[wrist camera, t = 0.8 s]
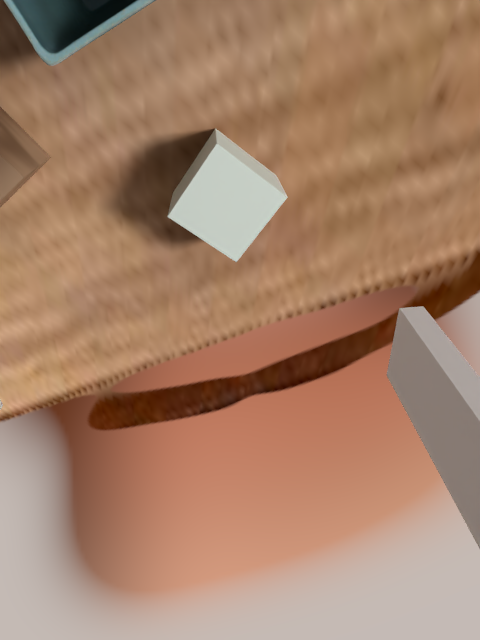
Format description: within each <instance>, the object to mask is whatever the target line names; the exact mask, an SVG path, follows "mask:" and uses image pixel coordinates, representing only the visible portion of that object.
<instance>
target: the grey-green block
mask: <svg viewBox="0 0 480 640" xmlns="http://www.w3.org/2000/svg"><path fill="white" fill-rule="evenodd" d="M286 199H287V195H286V193H285V191H284V189H283V187H282V185H281V183H280V182H279V180H278V178H277V176H276V175H275V174H274V173H272V172H271V171H270V170H269V169H267V168H266V167H265V166H263V165H262V164H261V163H259V162H258V161H257V160H256V159H254V158H253V157H252V156H250V155H249V154H248V153H247V152H245V151H244V150H243V149H241V148H240V147H239V146H238V145H236V144H235V143H234V142H232V141H231V140H230V139H228V138H227V137H226V136H225V135H223V134H222V133H221V132H219V131H218V130H217V129H216V128H215V130H214V131H213V133H212V134H211V136H210V137H209V139H208V140H207V142H206V143H205V145H204V146H203V148H202V149H201V151H200V152H199V154H198V156H197V157H196V159H195V160H194V162H193V163H192V165H191V166H190V168H189V169H188V171H187V172H186V174H185V175H184V177H183V178H182V180H181V181H180V183H179V184H178V186H177V187H176V189H175V190H174V192H173V194H172V199H171V203H170V208H169V212H168V217H169V218H170V219H172V220H173V221H175V222H176V223H178V224H179V225H181V226H182V227H184V228H185V229H187V230H188V231H190V232H191V233H193V234H194V235H196V236H197V237H199V238H201V239H202V240H204V241H205V242H207V243H208V244H210V245H211V246H213V247H214V248H216V249H217V250H219V251H220V252H222V253H223V254H225V255H226V256H228V257H229V258H231V259H233V260H234V261H236V262H237V261H238V259H239V258H240V257H241V256H242V254H243V253H244V252H245V250H246V249H247V248H248V247H249V245H250V244H251V243H252V242H253V240H254V239H255V238H256V237H257V235H258V234H259V233H260V231H261V230H262V229H263V228H264V226H265V225H266V224H267V223H268V221H269V220H270V219H271V218H272V216H273V215H274V214H275V212H276V211H277V210H278V209H279V207H280V206H281V205H282V204H283V202H284V201H285V200H286Z"/></svg>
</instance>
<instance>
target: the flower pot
mask: <svg viewBox="0 0 480 640" xmlns="http://www.w3.org/2000/svg"><path fill="white" fill-rule="evenodd" d="M154 1H155V0H4V2H5V3H6V5H7V7H8V8H9V9H10V11H11V12H12V14H13V16H14V17H15V19H16V20H17V22H18V23H19V25H20V27H21V28H22V30H23V31H24V33H25V35H26V36H27V38H28V39H29V41H30V42H31V44H32V46H33V48H34V49H35V51H36V52H37V54H38V55H39V56H40V58H41V59H42V60H43V61H44V62H45V63H46V64H47V65H56V64H58V63H60V62H62V61H63V60H65V59H66V58H68V57H69V56H71V55H72V54H74V53H75V52H77V51H78V50H80V49H81V48H83V47H84V46H86V45H88V44H89V43H91V42H92V41H94V40H95V39H97V38H98V37H100V36H102V35H103V34H105V33H106V32H108V31H109V30H111V29H112V28H114V27H116V26H117V25H119V24H120V23H122V22H123V21H125V20H126V19H128V18H129V17H131V16H132V15H134V14H136V13H137V12H139V11H140V10H141V9H143V8H144V7H146V6H148V5H149V4H151V3H152V2H154Z"/></svg>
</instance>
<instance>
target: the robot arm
mask: <svg viewBox="0 0 480 640" xmlns="http://www.w3.org/2000/svg"><path fill="white" fill-rule="evenodd" d="M387 377H388V379H389V381H390V382H391V384H392V386H393V388H394V390H395V392H396V393H397V395H398V397H399V399H400V401H401V403H402V405H403V407H404V408H405V410H406V412H407V414H408V416H409V418H410V419H411V422H412V423H413V425H414V427H415V429H416V431H417V433H418V435H419V436H420V438H421V440H422V442H423V444H424V446H425V448H426V449H427V451H428V453H429V455H430V457H431V459H432V461H433V463H434V464H435V466H436V468H437V470H438V472H439V474H440V476H441V477H442V479H443V481H444V483H445V485H446V487H447V489H448V490H449V492H450V494H451V496H452V498H453V500H454V502H455V503H456V505H457V507H458V509H459V511H460V513H461V515H462V516H463V518H464V520H465V522H466V524H467V526H468V528H469V530H470V531H471V533H472V535H473V537H474V539H475V541H476V543H477V544H478V546H479V548H480V377H479V376H478V374H477V373H476V372H475V371H474V370H473V368H472V367H471V366H470V364H469V363H468V362H467V361H466V360H465V358H464V357H463V356H462V354H461V353H460V352H459V351H458V349H457V348H456V347H455V346H454V344H453V343H452V342H451V341H450V339H449V338H448V337H447V336H446V334H445V333H444V332H443V331H442V329H441V328H440V327H439V326H438V324H437V323H436V322H435V321H434V319H433V318H432V317H431V316H430V314H429V313H428V312H427V311H426V309H425V308H424V307H410V308H399V313H398V319H397V324H396V329H395V334H394V340H393V345H392V350H391V355H390V360H389V366H388V371H387ZM2 406H3V404H2V402H1V400H0V409H1V407H2Z"/></svg>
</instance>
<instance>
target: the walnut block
mask: <svg viewBox="0 0 480 640" xmlns="http://www.w3.org/2000/svg"><path fill="white" fill-rule="evenodd" d="M50 158H51V157H50V156H49V155H48V154H47V153H46V152H45V151H44V150H43V149H42V148H41V147H40V146H39V145H38V144H37V143H36V142H35V141H34V140H33V139H32V138H31V137H30V136H29V135H28V134H27V133H26V132H25V131H24V130H23V129H22V128H21V127H20V126H19V125H18V124H17V123H16V122H15V121H14V120H13V119H12V118H11V117H10V116H9V115H8V114H7V113H6V112H5V111H4V110H3V109H2V108H1V107H0V207H1V206H2V205H3V204H4V203H5V202H6V201H7V200H8V199H9V198H10V197H11V196H12V195H13V194H14V193H15V192H16V191H17V190H18V189H19V188H20V187H21V186H22V185H23V184H24V183H25V182H26V181H27V180H28V179H29V178H30V177H31V176H32V175H33V174H34V173H35V172H36V171H37V170H38V169H40V168H41V167H42V166H43V165H44V164H45V163H46V162H47V161H48V160H49V159H50Z"/></svg>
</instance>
